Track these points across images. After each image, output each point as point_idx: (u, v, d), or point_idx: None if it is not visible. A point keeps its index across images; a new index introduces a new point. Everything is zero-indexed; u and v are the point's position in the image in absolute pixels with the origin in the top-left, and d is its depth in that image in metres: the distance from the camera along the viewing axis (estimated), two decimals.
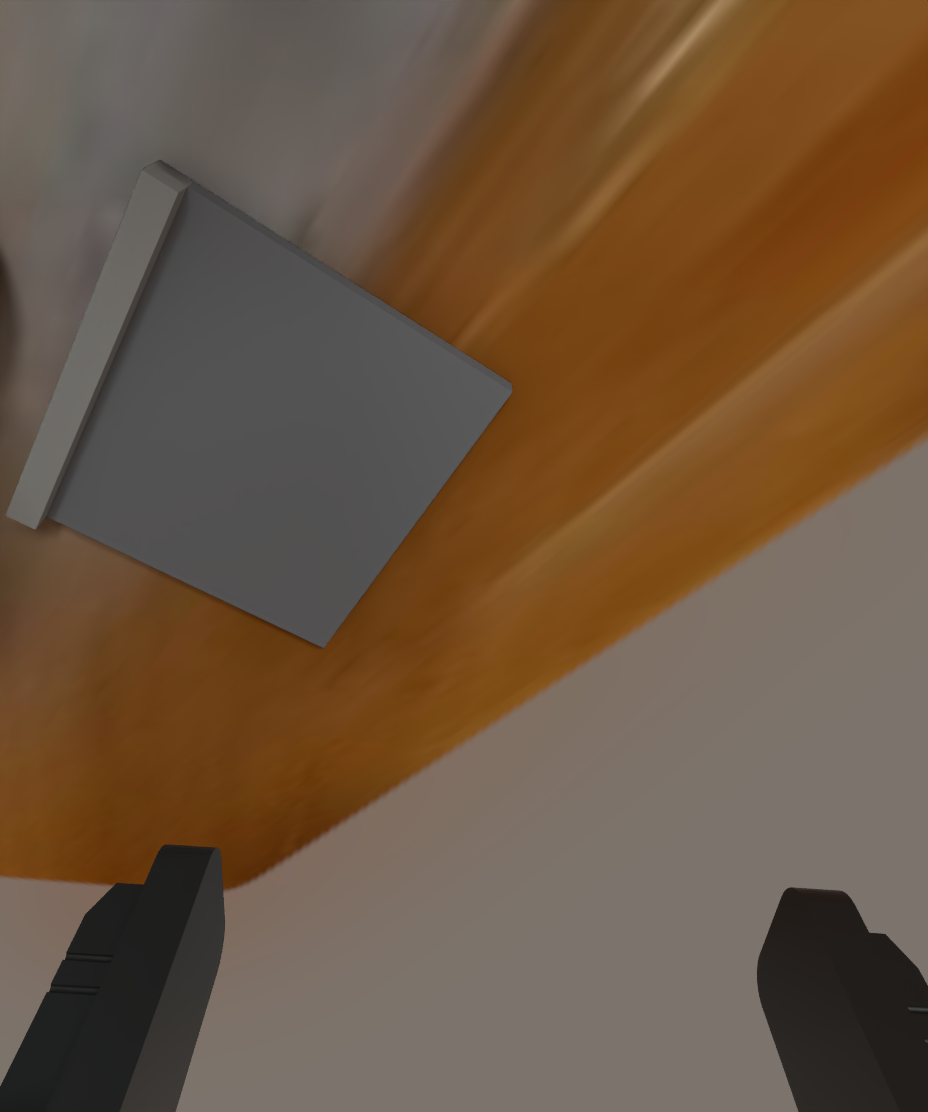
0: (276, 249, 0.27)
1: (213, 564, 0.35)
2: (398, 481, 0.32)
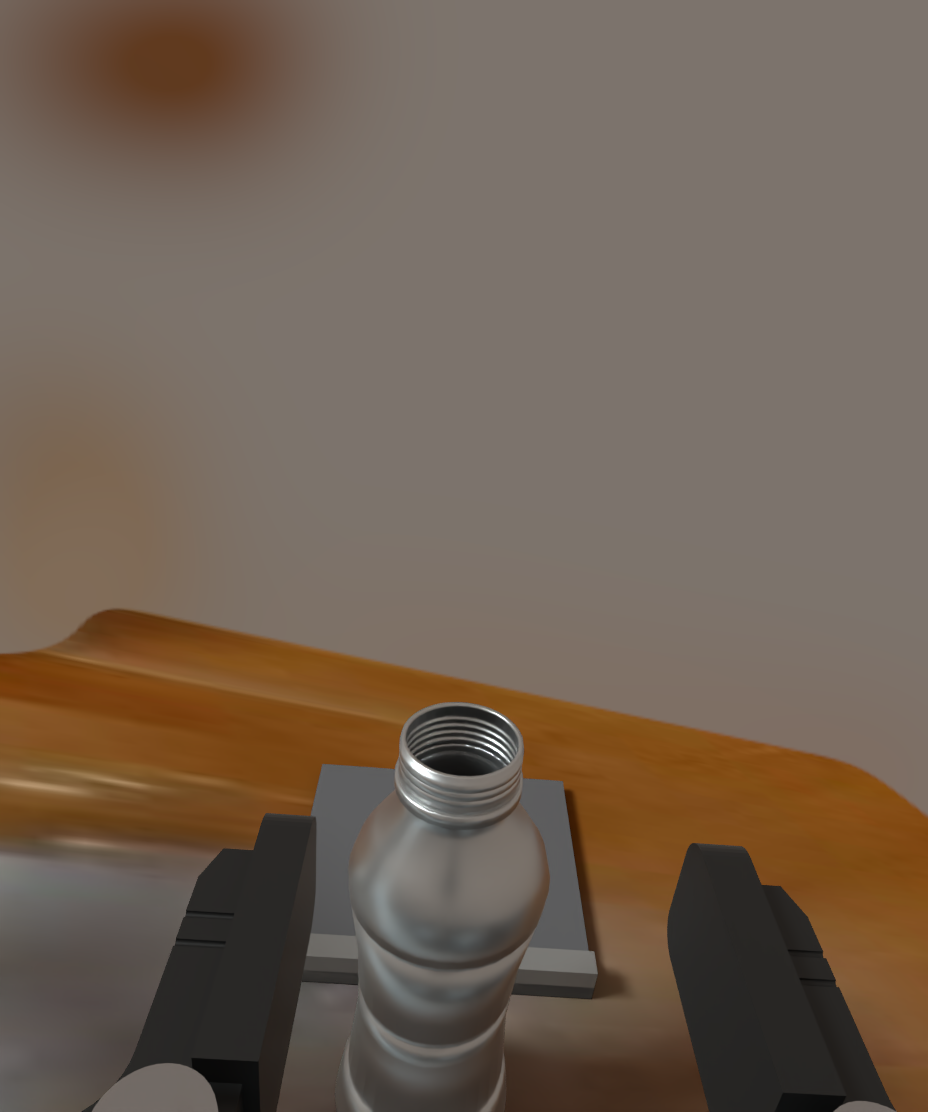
0: None
1: None
2: None
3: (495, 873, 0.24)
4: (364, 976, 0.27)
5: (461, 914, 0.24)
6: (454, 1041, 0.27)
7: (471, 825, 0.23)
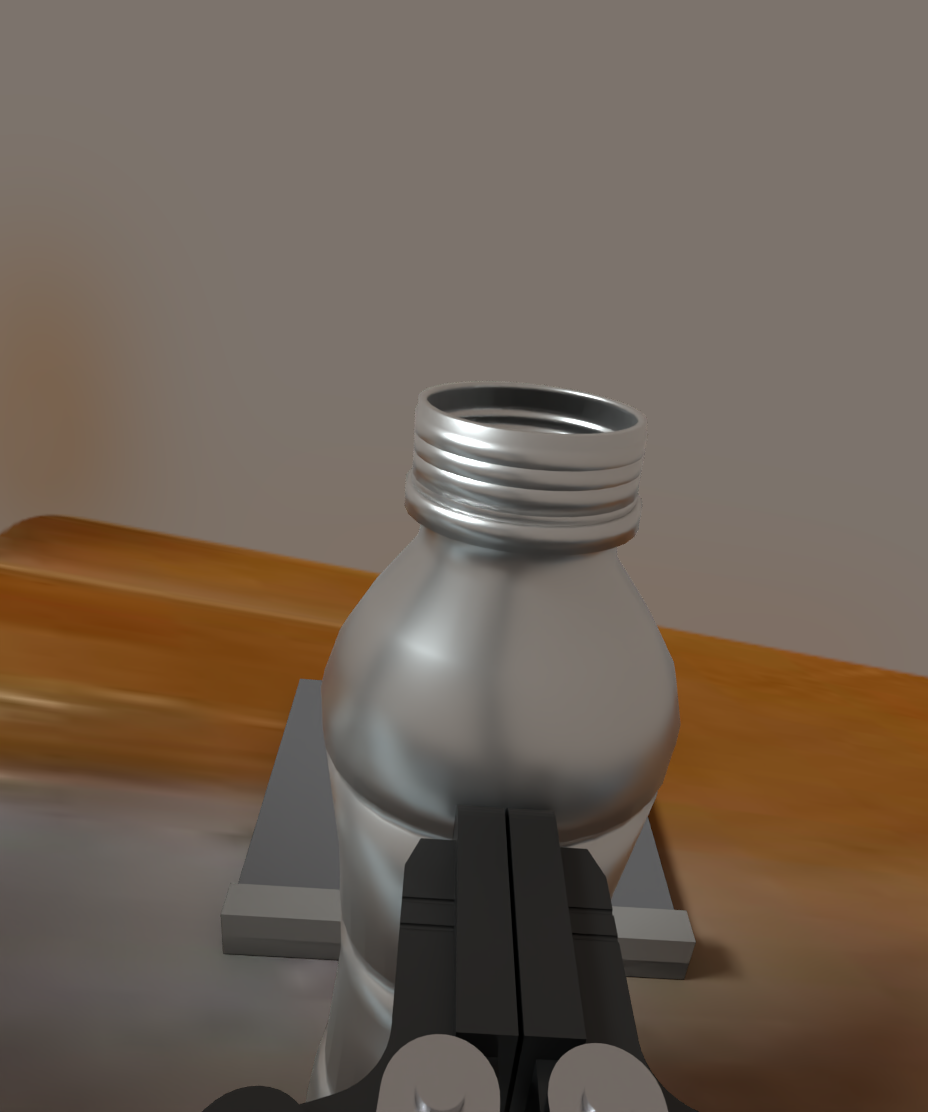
0: (259, 831, 0.30)
1: None
2: None
3: (599, 654, 0.13)
4: (350, 891, 0.15)
5: (537, 727, 0.12)
6: None
7: (557, 545, 0.12)
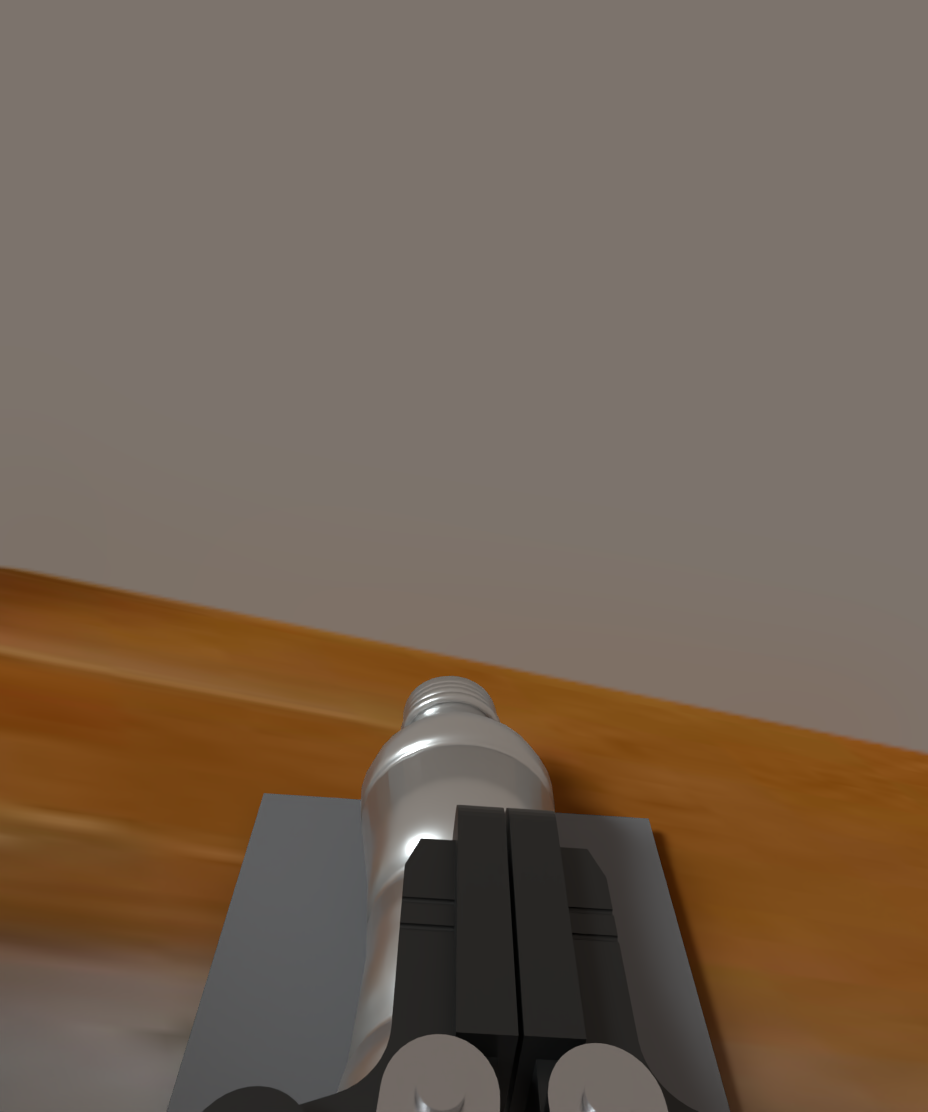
0: (196, 1036, 0.23)
1: (639, 954, 0.26)
2: None
3: None
4: (392, 836, 0.23)
5: (486, 717, 0.28)
6: None
7: (475, 699, 0.30)
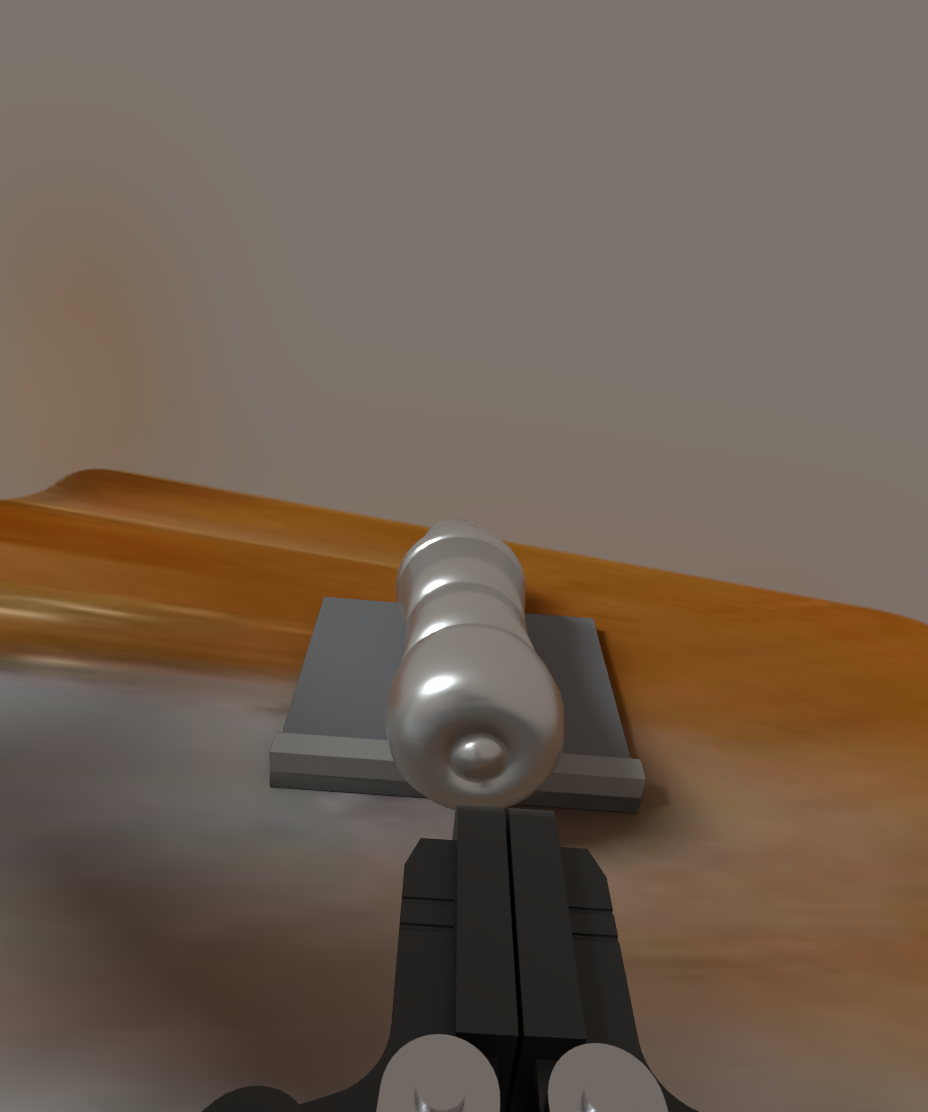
0: (295, 703, 0.36)
1: (578, 680, 0.40)
2: None
3: None
4: (422, 580, 0.37)
5: None
6: (498, 589, 0.36)
7: None
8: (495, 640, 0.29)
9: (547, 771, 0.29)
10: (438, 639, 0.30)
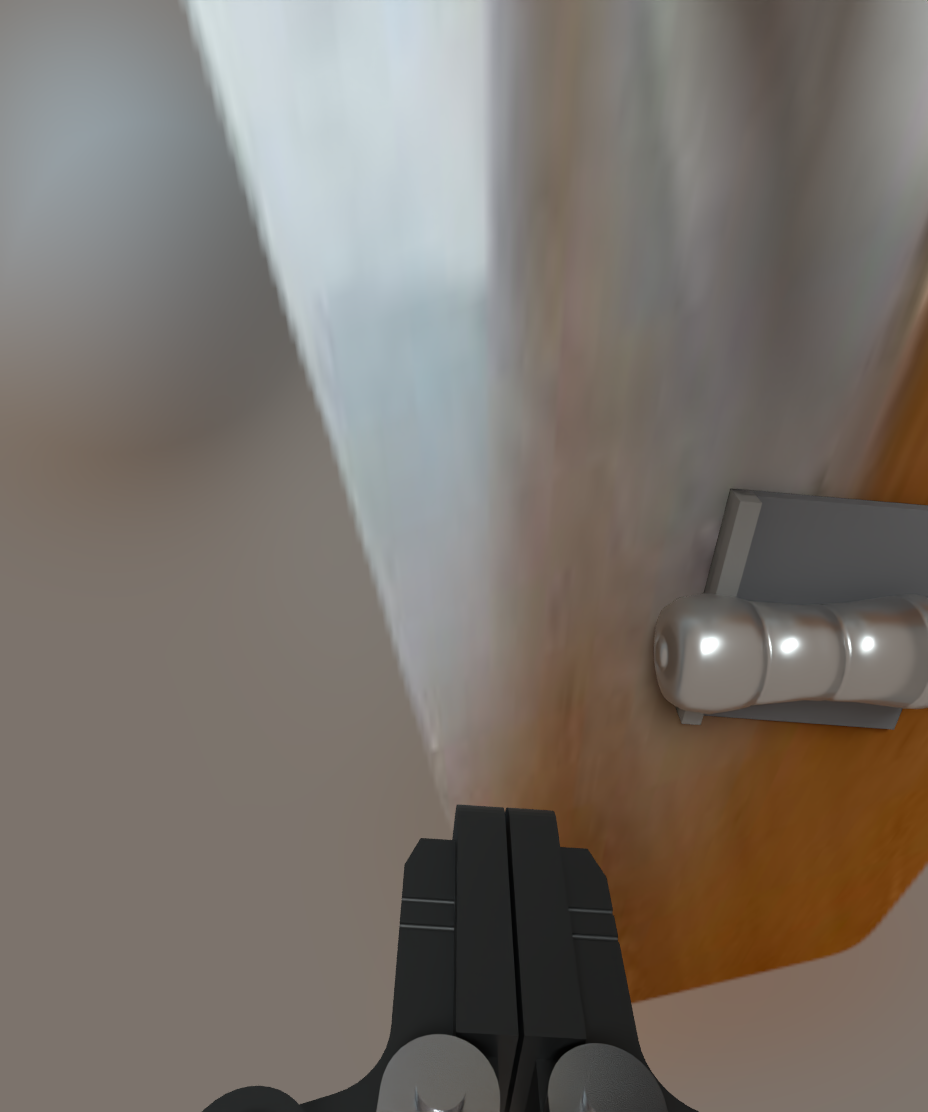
0: (813, 504, 0.45)
1: (807, 702, 0.51)
2: None
3: None
4: (875, 638, 0.43)
5: None
6: (839, 694, 0.44)
7: None
8: (731, 694, 0.42)
9: None
10: (745, 658, 0.41)
